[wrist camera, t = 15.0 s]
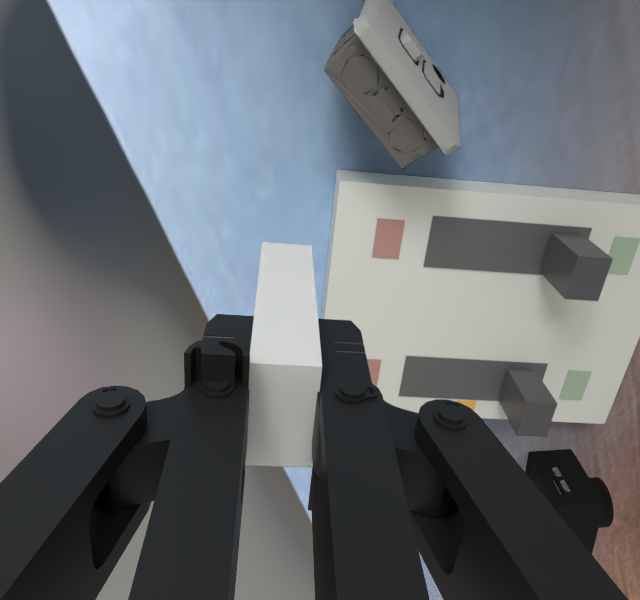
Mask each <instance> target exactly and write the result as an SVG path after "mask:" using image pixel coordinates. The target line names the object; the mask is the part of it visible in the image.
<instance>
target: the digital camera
mask: <svg viewBox="0 0 640 600" xmlns="http://www.w3.org/2000/svg"><path fill="white" fill-rule="evenodd" d="M534 456H535V457H534ZM535 458H536V459H535ZM541 469H542V470H541ZM526 474H527V476H528V477H529V478H530V479H531V481H532V482H533V483H534V484H535V485H536V487H537V488H538V489H539V490H540V492H541V493H542V494H543V495H544V497H545V498H546V499H547V500H548V502H549V503H550V504H551V505H552V506H553V508H554V509H555V510H556V511H557V513H558V514H559V515H560V516H561V518H562V519H563V520H564V521H565V522H566V524H567V525H568V526H569V527H570V529H571V530H572V531H573V532H574V534H575V535H576V536H577V537H578V539H579V540H580V541H581V542H582V543H583V545H584V546H585V547H586V548H587V550H588V551H589V552H590V553H591V555H592V551H593V547H594V543H595V539H596V535H597V531H598V528H599V527H609V526H610V525H611V523H612V521H613V504H612V499H611V496H610V493H609V491H608V489H607V487H606V485H605V484H604V482H603V481H602V480H601V479H600V478H597V477H594V478H589V477H588V476H587V474H586V472H585V471H584V469H583V468H582V466H581V464H580V463H579V461H578V460H577V458H576V456H575V455H574V453H573V452H572V450H570V449H567V450H552V451H537V452H529V454H528V461H527V467H526Z"/></svg>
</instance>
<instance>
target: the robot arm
mask: <svg viewBox="0 0 640 600" xmlns="http://www.w3.org/2000/svg"><path fill="white" fill-rule="evenodd" d="M184 365H185V366H184V370H185V388H184V390H183V391H182V392H180V393H179V394H177V395H174V396H172V397H169V398H165V399H161V400H155V401H149V402H146V401H145V397H144V396H143V395H142V394H141V393H140V392H139V391H138V390H135V389H132V388H130V387H126V386H109V387H103V388H99V389H97V390H94V391H92V392H89V393H88V394H86V395H85V396H84V397H82V398H81V399H80V400H79V401H78V402H77V403H76V404H75V405H74V406H73V407H72V408H71V409H70V410H69V411H68V412H67V413H66V414H65V416H64V417H63V418H62V419H61V420H60V421H59V422H58V423H57V424H56V425H55V426H54V427H53V428H52V429H51V430H50V431H49V432H48V434H47V435H46V436H45V437H44V438H43V439H42V440H41V441H40V442H39V443H38V444H37V445H36V446H35V447H34V448H33V449H32V450H31V451H30V452H29V454H28V455H27V456H26V457H25V458H24V459H23V460H22V461H21V462H20V463H19V464H18V465H17V466H16V467H15V468H14V470H13V471H11V473H10V474H9V475H8V476H7V477H6V478H5V479H4V480H3V481H2V482H1V483H0V600H95V599H96V597H97V596H98V594H99V592H100V591H101V589H102V587H103V586H104V584H105V582H106V581H107V579H108V577H109V576H110V574H111V572H112V570H113V569H114V567H115V566H116V564H117V562H118V560H119V559H120V557H121V555H122V554H123V552H124V550H125V549H126V547H127V545H128V544H129V542H130V540H131V539H132V537H133V535H134V533H135V532H136V530H137V529H138V527H139V525H140V523H141V522H142V520H143V519H144V517H145V515H146V514H147V511H148V510H149V507H150V504H151V501H154V500H155V501H154V505H153V508H152V512H151V516H150V520H149V523H148V527H147V531H146V535H145V539H144V542H143V546H142V550H141V554H140V557H139V561H138V565H137V569H136V573H135V576H134V580H133V584H132V588H131V592H130V595H129V599H128V600H234V594H235V582H236V571H237V560H238V549H239V548H238V547H239V537H240V526H241V515H242V504H243V493H244V480H245V465H260V466H285V467H311V463H312V461H313V469H312V477H311V486H310V495H309V504H308V510H312V529H313V555H314V580H315V600H429V595H428V591H427V587H426V582H425V578H424V574H423V569H422V565H421V560H420V556H419V552H420V554H421V556H422V558H423V560H424V562H425V564H426V566H427V568H428V570H429V572H430V574H431V576H432V578H433V580H434V582H435V583H436V585H437V587H438V589H439V591H440V593H441V595H442V597H443V599H444V600H628V599H627V598H626V597H625V595H624V594H623V593H622V592H621V590H620V589H619V588H618V587H617V585H616V584H615V583H614V582H613V581H612V579H611V578H610V577H609V576H608V574H607V573H606V572H605V571H604V569H603V568H602V567H601V566H600V564H599V563H598V562H597V561H596V560H595V558H594V557H593V556H592V555H591V553H590V552H589V551H588V550H587V548H586V547H585V546H584V545H583V543H582V542H581V541H580V540H579V539H578V537H577V536H576V535H575V534H574V532H573V531H572V530H571V529H570V527H569V526H568V525H567V524H566V522H565V521H564V520H563V519H562V518H561V516H560V515H559V514H558V513H557V511H556V510H555V509H554V508H553V506H552V505H551V504H550V503H549V502H548V500H547V499H546V498H545V497H544V495H543V494H542V493H541V492H540V490H539V489H538V488H537V487H536V485H535V484H534V483H533V482H532V481H531V479H530V478H529V477H528V476H527V474H526V473H525V472H524V471H523V469H522V468H521V467H520V466H519V464H518V463H517V462H516V461H515V460H514V458H513V457H512V456H511V455H510V453H509V452H508V451H507V450H506V448H505V447H504V446H503V445H502V443H501V442H500V441H499V440H498V439H497V437H496V436H495V435H494V434H493V432H492V431H491V430H490V429H489V427H488V426H487V425H486V424H485V423H484V421H483V420H482V419H481V418H480V416H479V415H478V414H477V413H475V412H474V411H473V410H472V409H471V408H469V407H467V406H465V405H463V404H461V403H459V402H455V401H451V400H444V399H435V400H432V401H428V402H426V403H425V404H423V405H422V406H421V407H420V410H419V413H416V412H412V411H408V410H405V409H401V408H398V407H395V406H393V405H391V404H389V403H387V402H386V401H384V400H383V395H382V394H381V392H380V390H379V388H378V387H376V386H375V385H374V384H373V383H372V380H371V375H370V371H369V366H368V362H367V357H366V353H365V348H364V344H363V338H362V334H361V330H360V329H359V328H358V327H357V326H356V325H355V324H354V323H353V322H352V321H351V320H333V319H318V312H317V301H316V290H315V279H314V268H313V257H312V246H311V245H296V244H282V243H267V242H262V248H261V257H260V266H259V275H258V284H257V293H256V302H255V311H254V316H240V315H223V314H217V315H216V316H215V317H214V318H212V319H211V320H210V321H209V322H208V323H207V324H206V328H205V333H204V337H203V340H201V341H197V342H195V343H194V344H192V345H190V346H189V347H188V348H187V350H186V351H185V353H184ZM418 550H419V552H418Z"/></svg>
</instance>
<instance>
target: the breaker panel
mask: <svg viewBox="0 0 640 600" xmlns="http://www.w3.org/2000/svg"><path fill="white" fill-rule="evenodd" d="M552 233H563V234H576V235H584V236H585V237H586V238H588V239H589V240H590V241H591V242H593V243H594V244H595V245H596V246H598V247H599V248H600V249H601V250H603V251H604V252H605V253H606V254H608V255H609V256H610V257H611V258H613V260H612V263H611V266H610V269H609V271H608V274H607V277H606V280H605V283H604V286H603V289H602V291H601V294H600V297H599V300H598V301H585V300H570V299H564V298H563V297H562V296H561V295H560V294H559V292H558V291H557V290H556V289H555V288H554V287H553V286H552V285H551V284H550V283H549V282H548V280H547V279H546V278H545V277H544V276H543V275H542V274H541V273H540V271H541V268H542V264H543V261H544V258H545V254H546V251H547V247H548V244H549V240H550V237H551V234H552ZM321 319H333V320H351V321H352V322H353V323H354V324H355V325H356V326H357V327H358V328H359V329H360V330H361V334H362V338H363V344H364V348H365V353H366V357H367V362H368V366H369V371H370V375H371V380H372V383H373V384H374V385H375V386H376V387H378V388H379V390H380V392H381V394H382V395H383V400H384V401H386V402H387V403H389V404H391V405H393V406H395V407H398V408H401V409H405V410H408V411H412V412H416V413H419V410H420V407H421V406H422V405H423V404H425V403H426V402H428V401H432V400H435V399H444V400H451V401H455V402H459V403H461V404H463V405H465V406H467V407H469V408H471V409H472V410H473V411H474V412H475V413H477V414H478V415H479V416H480V418H486V419H507V420H508V418H507V416H506V414H505V412H504V410H503V408H502V406H501V405H500V403H499V397H500V394H501V390H502V387H503V383H504V380H505V377H506V373H507V370H508V369H511V370H529V371H536V372H537V374H538V375H539V377H540V378H541V380H542V381H543V383H544V384H545V386H546V387H547V389H548V390H549V392H550V393H551V395H552V396H553V398H554V399H555V401H556V402H557V407H556V410H555V412H554V415H553V418H552V421H551V422H572V423H594V424H605V422H606V419H607V417H608V414H609V412H610V409H611V407H612V404H613V402H614V399H615V397H616V394H617V392H618V389H619V387H620V385H621V382H622V380H623V377H624V375H625V372H626V370H627V367H628V365H629V362H630V360H631V357H632V355H633V352H634V350H635V347H636V345H637V342H638V340H639V337H640V195H639V194H627V193H615V192H603V191H590V190H578V189H566V188H554V187H542V186H529V185H517V184H505V183H493V182H481V181H468V180H456V179H444V178H432V177H420V176H407V175H395V174H383V173H371V172H359V171H346V170H337V173H336V182H335V191H334V201H333V210H332V219H331V228H330V237H329V247H328V256H327V265H326V274H325V283H324V293H323V302H322V311H321Z"/></svg>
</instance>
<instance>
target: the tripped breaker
mask: <svg viewBox="0 0 640 600" xmlns="http://www.w3.org/2000/svg"><path fill="white" fill-rule="evenodd" d="M499 403H500V405H501V406H502V408H503V410H504V412H505V414H506V416H507V418H508V420H509V422H510V424H511V426H512V428H513V429H514V431H515V433H516V435H521V436H544V437H546V436H547V433H548V430H549V427H550V424H551V421H552V418H553V415H554V412H555V410H556V407H557V402H556V401H555V399H554V398H553V396H552V395H551V393H550V392H549V390H548V389H547V387H546V386H545V384H544V383H543V381H542V380H541V378H540V377H539V375H538V374H537V372H536V371H529V370H511V369H508V370H507V373H506V377H505V380H504V383H503V387H502V390H501V394H500V397H499Z"/></svg>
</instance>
